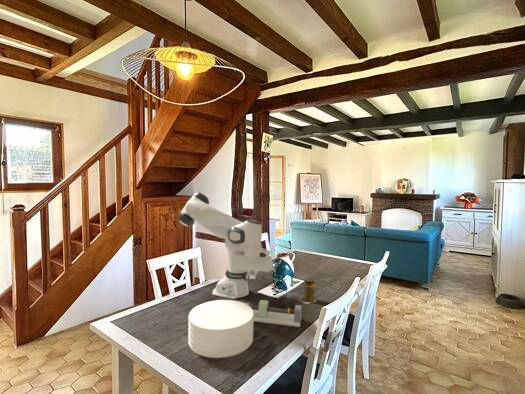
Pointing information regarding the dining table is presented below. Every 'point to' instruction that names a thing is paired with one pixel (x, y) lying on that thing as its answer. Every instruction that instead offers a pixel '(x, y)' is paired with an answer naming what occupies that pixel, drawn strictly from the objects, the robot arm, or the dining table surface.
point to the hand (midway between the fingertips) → (252, 278)
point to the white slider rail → (279, 315)
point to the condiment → (308, 292)
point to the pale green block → (263, 308)
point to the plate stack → (220, 328)
